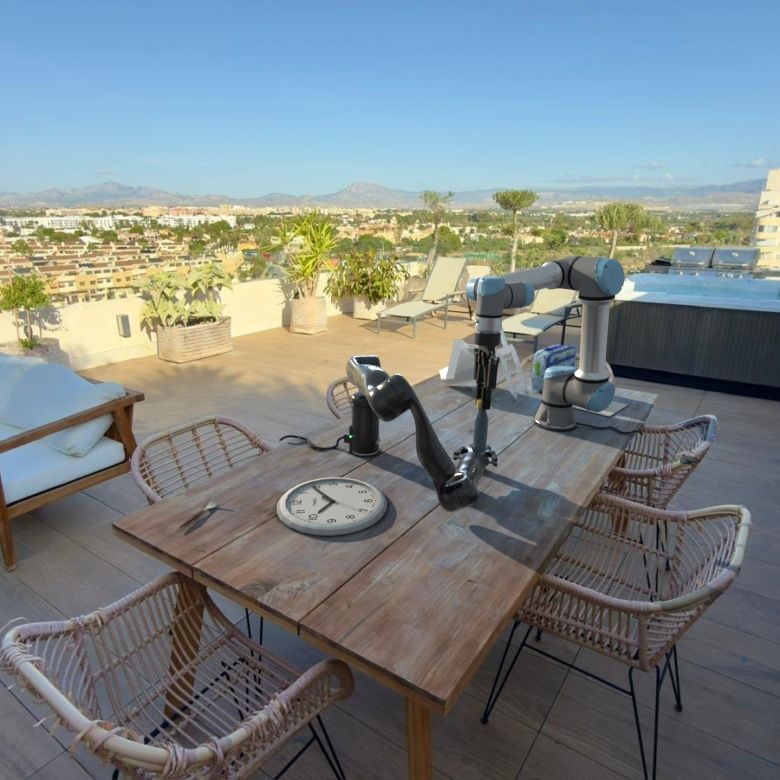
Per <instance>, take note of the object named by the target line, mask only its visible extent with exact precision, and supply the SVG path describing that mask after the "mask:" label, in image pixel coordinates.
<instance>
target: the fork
mask: <svg viewBox="0 0 780 780" xmlns="http://www.w3.org/2000/svg"><path fill="white" fill-rule="evenodd" d="M222 498H223V495H221V493H220V494H217V493H215V494H214V495H213V497H212V499H211V500H210V502H209V503H208V504H207V505H206V507H205V508H204V509H202V510H200V511H199V512H197V513H195V514H193V515H192V516H191V517H190V518H188V519H187V520H186V521H185V522H184V523H183V524H181V525H180V526H179V527H178V529H182V528H183V527H185V526H186V525H188V524H189V523H191V522H193V521H195V520H196V519H197V518H198V517H200V516H201V515H202V514H203V513H204V512H205V511H207V510H210V509H211V510H212V509H215V508H216V507H217V506H218V505H219V503H220V501H221V499H222Z"/></svg>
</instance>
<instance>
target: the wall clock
mask: <svg viewBox="0 0 780 780" xmlns="http://www.w3.org/2000/svg"><path fill="white" fill-rule="evenodd" d="M387 509H388V500H387V498H386V496H385V494H384V493H383V492H382V491H381V490H380V489H379V488H377V487H376V486H374V485H372V484H371V483H369V482H365V481H362V480H359V479H355V478H349V477H338V476H337V477H335V476H333V477H332V476H331V477H322V478H317V479H312V480H307V481H305V482H302V483H299V484H297V485H295V486H293V487H292V488H290V489H288V490H287V491H286V492H285V493H284V494H283V495H281V496H280V498H279V499H278V502H277V503H276V515H277V517H278V518H279V520H280V521H281V522H282V523H283V524H285V525H286V526H287V527H288V528H290V529H293V530H295V531H297V532H299V533H303V534H308V535H312V536H327V537H328V536H329V537H331V536H332V537H333V536H342V535H350V534H352V533H356V532H361V531H363V530H366V529H368V528H369V527H372V526H373V525H375V524H376V523H378V522H379V521H380V520H381V519H382V518H383V517H384V516H385V514H386V512H387Z"/></svg>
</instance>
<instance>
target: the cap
mask: <svg viewBox="0 0 780 780" xmlns="http://www.w3.org/2000/svg"><path fill="white" fill-rule="evenodd" d="M481 400H482V399H478V400H477V405H476V408H477V409H478V408H481Z"/></svg>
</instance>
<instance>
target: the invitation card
mask: <svg viewBox="0 0 780 780" xmlns="http://www.w3.org/2000/svg"><path fill="white" fill-rule="evenodd" d="M628 406H629V404H627V403H623V402H618V401H614V400H612V402H611V403H610V405H609V406H608V407H607V408H606V409H605V410H603V411H601V412H594V411H588V410H587V409H584V408H581V407H578V406H574V407H573V409H575V410H581V411H584V412H587V413H593V414H596V415H600V416H604V417H608V418H609V417H611V416H613V415H614V414H616V413H617V412H619V411H621V410H623V409H624V408H626V407H628Z"/></svg>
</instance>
